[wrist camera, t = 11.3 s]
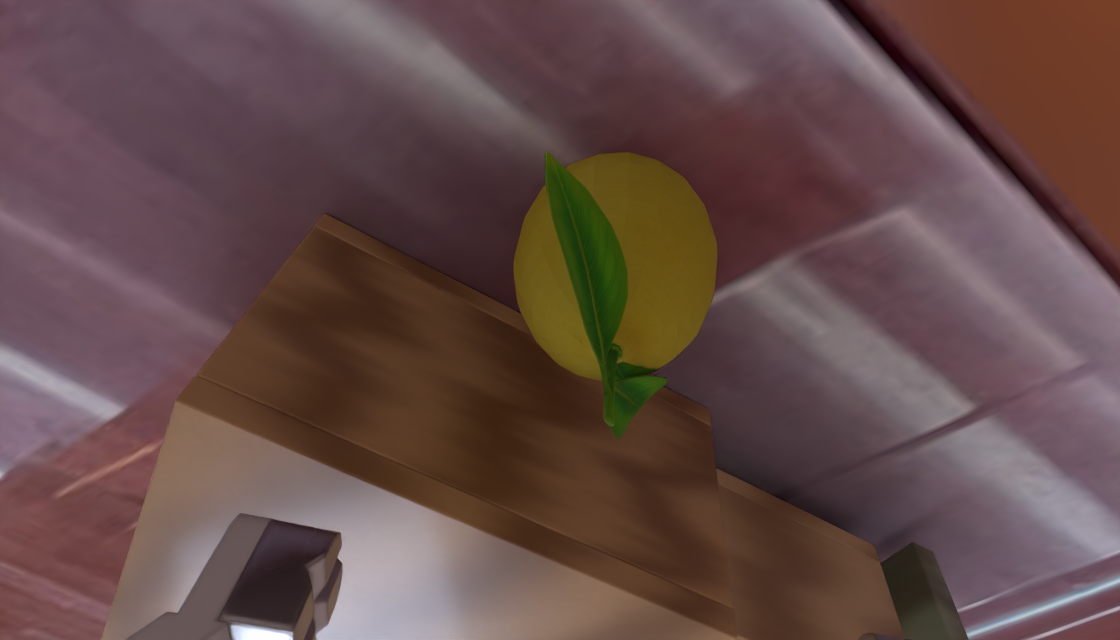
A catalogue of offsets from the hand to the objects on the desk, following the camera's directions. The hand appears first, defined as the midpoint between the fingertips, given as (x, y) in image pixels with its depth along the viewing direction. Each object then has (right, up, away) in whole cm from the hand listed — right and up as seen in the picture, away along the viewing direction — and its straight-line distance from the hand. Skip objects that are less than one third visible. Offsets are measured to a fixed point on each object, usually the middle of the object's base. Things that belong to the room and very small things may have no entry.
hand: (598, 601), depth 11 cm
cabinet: (-5, 0, +18) cm, 18 cm away
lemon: (+1, +8, +11) cm, 14 cm away
